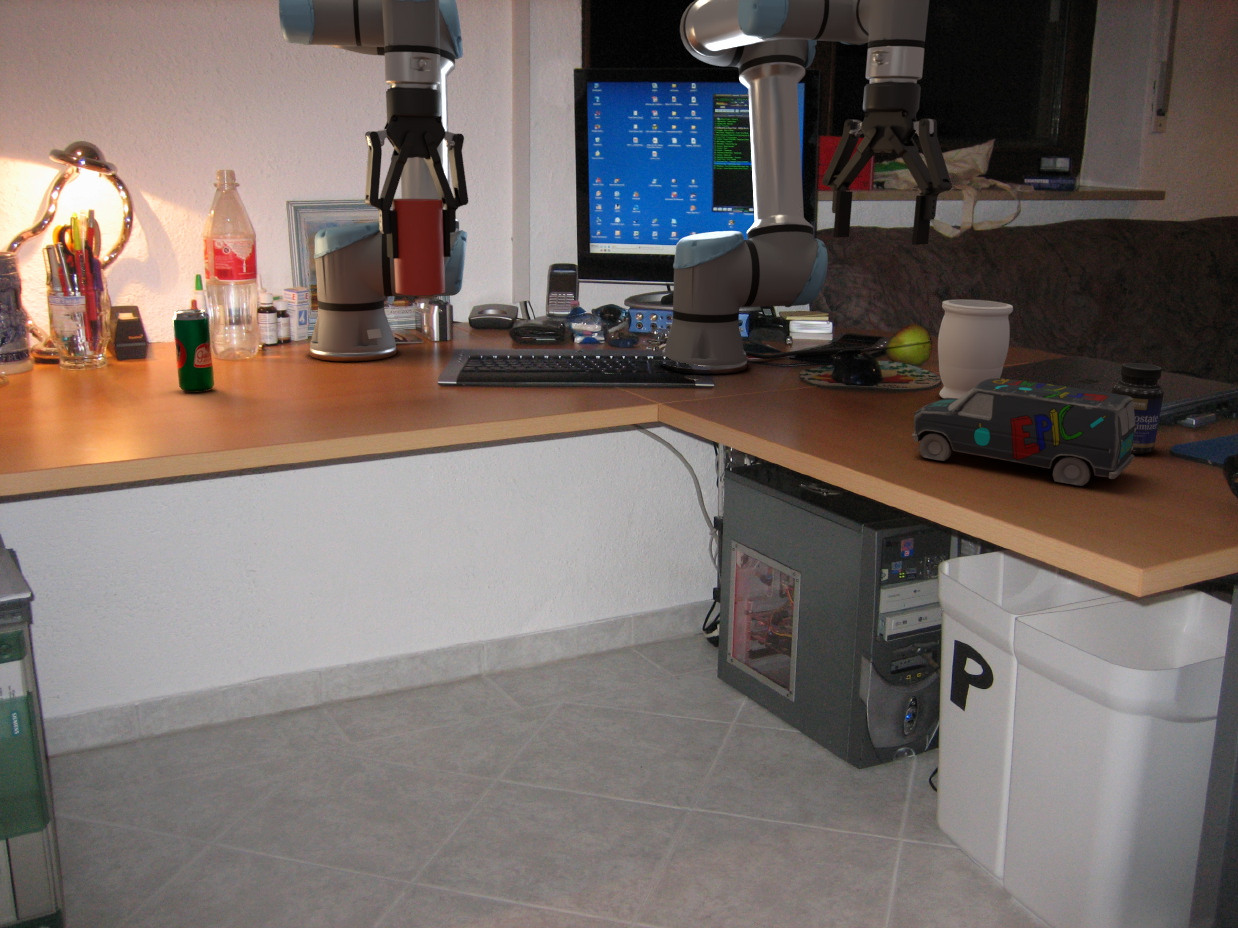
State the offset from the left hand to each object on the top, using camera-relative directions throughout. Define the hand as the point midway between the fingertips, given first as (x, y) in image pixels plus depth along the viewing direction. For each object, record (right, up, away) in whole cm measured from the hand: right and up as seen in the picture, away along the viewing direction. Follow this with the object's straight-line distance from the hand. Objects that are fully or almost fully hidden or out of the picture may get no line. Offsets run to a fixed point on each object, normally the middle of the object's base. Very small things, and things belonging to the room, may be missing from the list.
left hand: (419, 256), depth 153 cm
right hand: (+66, +2, -1) cm, 66 cm away
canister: (0, -5, +1) cm, 5 cm away
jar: (+83, -20, +15) cm, 87 cm away
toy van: (+78, -30, -20) cm, 86 cm away
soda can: (-36, -18, +11) cm, 42 cm away
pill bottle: (+96, -28, -12) cm, 101 cm away
